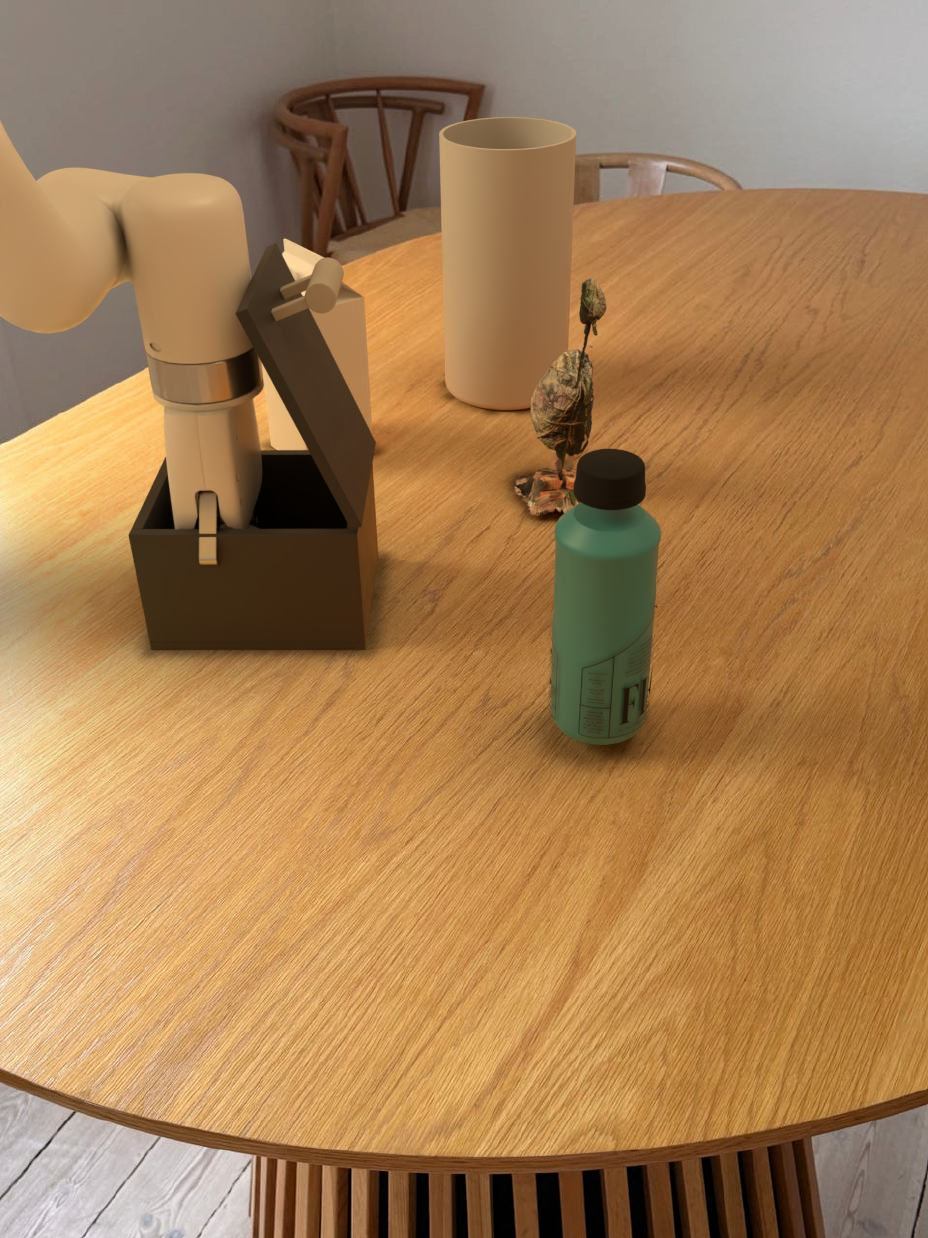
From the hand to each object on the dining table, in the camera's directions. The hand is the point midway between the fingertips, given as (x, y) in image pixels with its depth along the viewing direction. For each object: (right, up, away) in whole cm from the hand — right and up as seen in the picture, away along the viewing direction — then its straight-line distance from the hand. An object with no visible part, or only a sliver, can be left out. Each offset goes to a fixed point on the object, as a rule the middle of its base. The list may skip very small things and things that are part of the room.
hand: (238, 590), depth 92 cm
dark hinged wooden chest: (+2, -1, +1) cm, 3 cm away
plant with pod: (+26, +9, +14) cm, 31 cm away
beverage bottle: (+26, -10, -12) cm, 30 cm away
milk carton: (+4, +14, +22) cm, 26 cm away
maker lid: (+7, +14, -10) cm, 18 cm away
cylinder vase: (+21, +22, +33) cm, 45 cm away
